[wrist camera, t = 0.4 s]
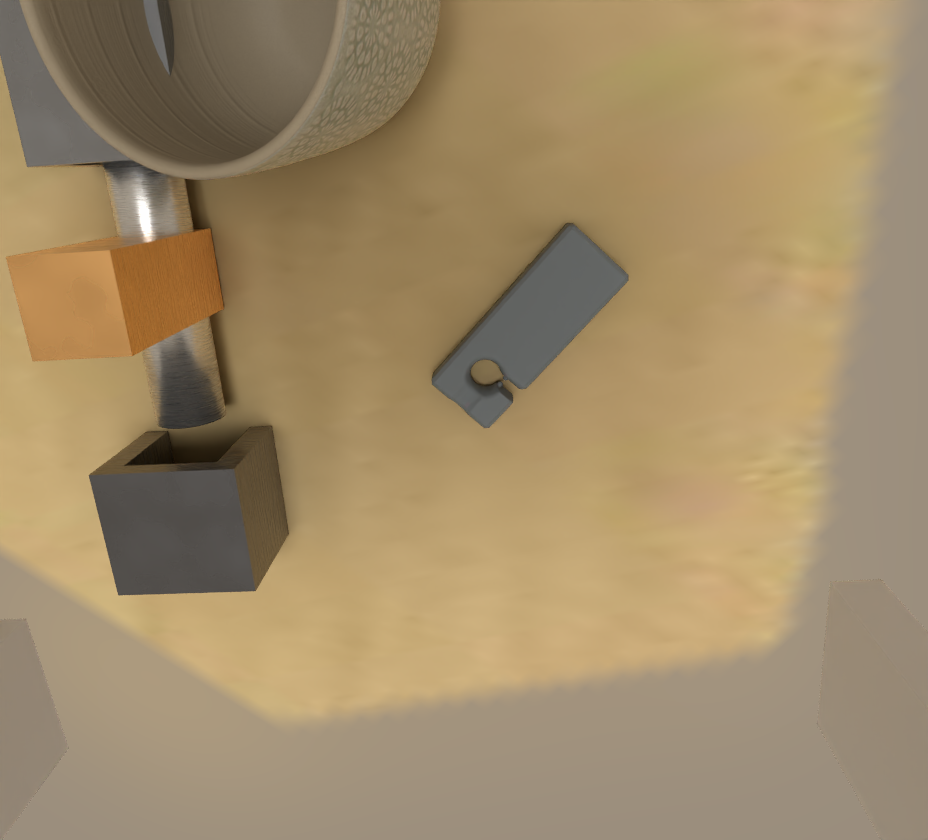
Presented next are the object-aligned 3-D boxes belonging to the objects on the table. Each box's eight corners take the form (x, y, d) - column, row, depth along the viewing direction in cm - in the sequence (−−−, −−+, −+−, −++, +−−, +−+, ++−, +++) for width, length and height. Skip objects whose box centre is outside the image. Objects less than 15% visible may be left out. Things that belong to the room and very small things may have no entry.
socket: (146, 432, 41) (88, 475, 35) (271, 426, 40) (233, 469, 35) (169, 538, 43) (118, 595, 37) (288, 534, 42) (255, 591, 37)
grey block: (40, -71, 33) (-40, -112, 28) (189, -85, 33) (134, -129, 28) (91, 166, 36) (27, 167, 31) (227, 156, 36) (183, 155, 31)
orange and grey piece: (88, 14, 34) (-72, -44, 25) (173, 7, 34) (44, -54, 24) (168, 409, 40) (64, 484, 31) (240, 405, 40) (159, 480, 30)
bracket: (625, 272, 37) (632, 278, 35) (487, 419, 40) (487, 432, 38) (568, 219, 36) (571, 221, 35) (432, 372, 39) (428, 383, 37)
